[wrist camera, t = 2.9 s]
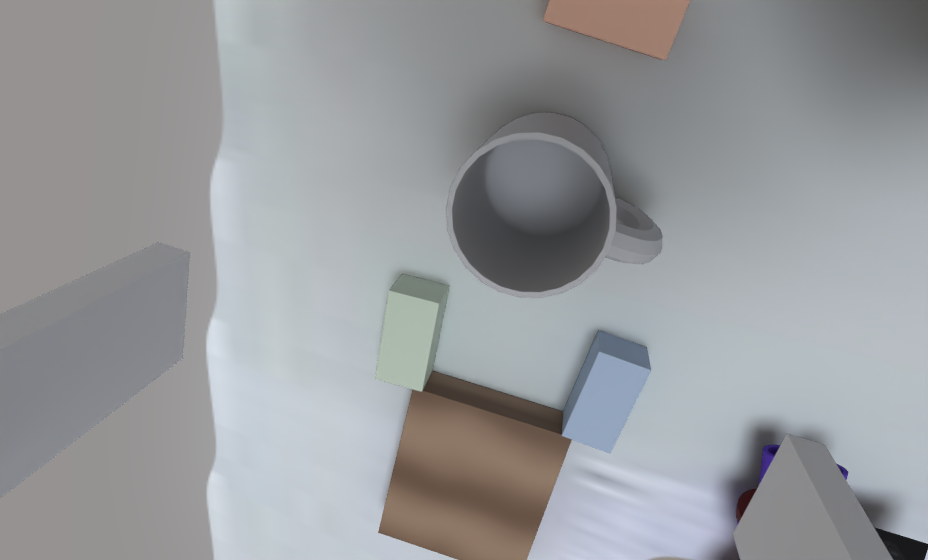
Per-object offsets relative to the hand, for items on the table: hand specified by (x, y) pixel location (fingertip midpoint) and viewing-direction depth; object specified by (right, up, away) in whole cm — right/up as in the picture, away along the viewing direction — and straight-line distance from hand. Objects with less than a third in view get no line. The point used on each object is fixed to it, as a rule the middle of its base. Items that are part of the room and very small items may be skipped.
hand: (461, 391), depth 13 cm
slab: (+1, -10, +29) cm, 30 cm away
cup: (+6, +8, +21) cm, 23 cm away
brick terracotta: (+8, +16, +18) cm, 25 cm away
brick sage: (-3, 0, +26) cm, 26 cm away
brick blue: (+9, -4, +25) cm, 27 cm away
